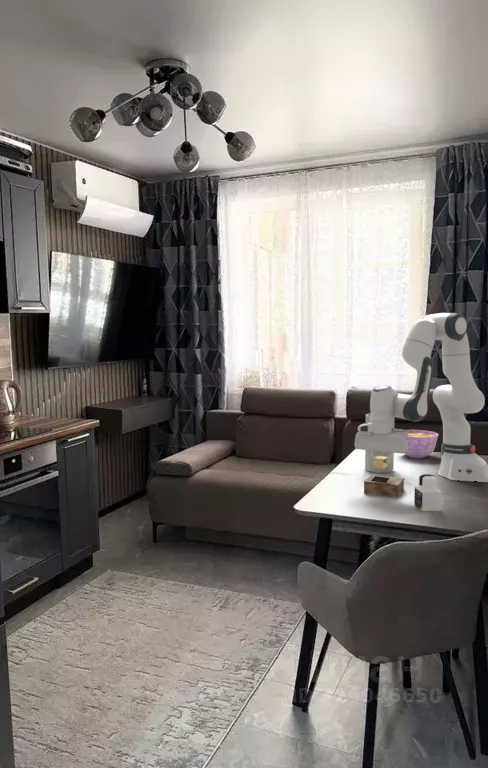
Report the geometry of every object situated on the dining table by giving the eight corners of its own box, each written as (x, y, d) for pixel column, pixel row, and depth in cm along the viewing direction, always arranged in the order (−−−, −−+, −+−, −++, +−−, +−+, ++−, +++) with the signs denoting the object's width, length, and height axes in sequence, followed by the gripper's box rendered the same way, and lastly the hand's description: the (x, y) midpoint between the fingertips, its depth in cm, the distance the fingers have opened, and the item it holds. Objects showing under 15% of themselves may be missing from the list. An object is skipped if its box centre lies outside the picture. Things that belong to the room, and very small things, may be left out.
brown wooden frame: (403, 489, 232) (403, 478, 231) (397, 497, 222) (397, 485, 221) (371, 485, 237) (371, 474, 237) (363, 492, 228) (364, 481, 227)
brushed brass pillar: (387, 465, 231) (388, 457, 230) (382, 468, 226) (382, 459, 225) (378, 464, 233) (378, 455, 232) (372, 467, 228) (372, 458, 227)
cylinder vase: (383, 465, 271) (384, 412, 268) (398, 472, 259) (400, 416, 256) (359, 468, 267) (360, 414, 264) (374, 474, 255) (375, 418, 253)
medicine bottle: (414, 505, 211) (414, 473, 210) (433, 505, 212) (433, 472, 211) (421, 511, 204) (422, 478, 203) (441, 511, 205) (442, 477, 204)
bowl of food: (387, 454, 295) (388, 431, 294) (420, 450, 302) (421, 428, 301) (412, 462, 277) (412, 438, 276) (446, 458, 284) (447, 435, 283)
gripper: (409, 428, 226) (409, 463, 227) (358, 424, 235) (357, 458, 236) (406, 430, 220) (405, 466, 222) (353, 426, 229) (353, 461, 231)
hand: (380, 462), depth 229 cm, fingers closed on brushed brass pillar, 4 cm apart
